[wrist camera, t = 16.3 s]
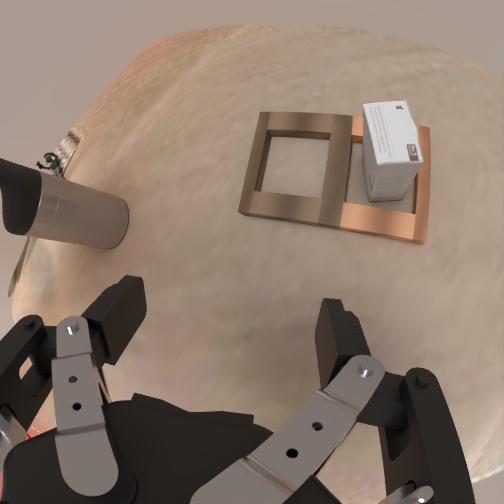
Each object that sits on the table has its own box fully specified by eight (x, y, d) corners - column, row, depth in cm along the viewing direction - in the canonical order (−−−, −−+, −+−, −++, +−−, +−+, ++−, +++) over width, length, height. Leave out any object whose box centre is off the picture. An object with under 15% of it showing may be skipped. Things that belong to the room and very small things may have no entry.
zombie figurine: (38, 196, 48) (33, 159, 53) (61, 202, 54) (53, 166, 59) (48, 177, 47) (42, 142, 51) (72, 184, 53) (63, 150, 58)
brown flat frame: (244, 215, 36) (237, 211, 34) (265, 119, 37) (260, 112, 35) (421, 244, 28) (425, 241, 26) (426, 135, 28) (429, 127, 27)
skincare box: (361, 157, 31) (357, 100, 20) (395, 154, 30) (406, 97, 19) (368, 205, 31) (371, 164, 20) (405, 202, 29) (425, 160, 18)
